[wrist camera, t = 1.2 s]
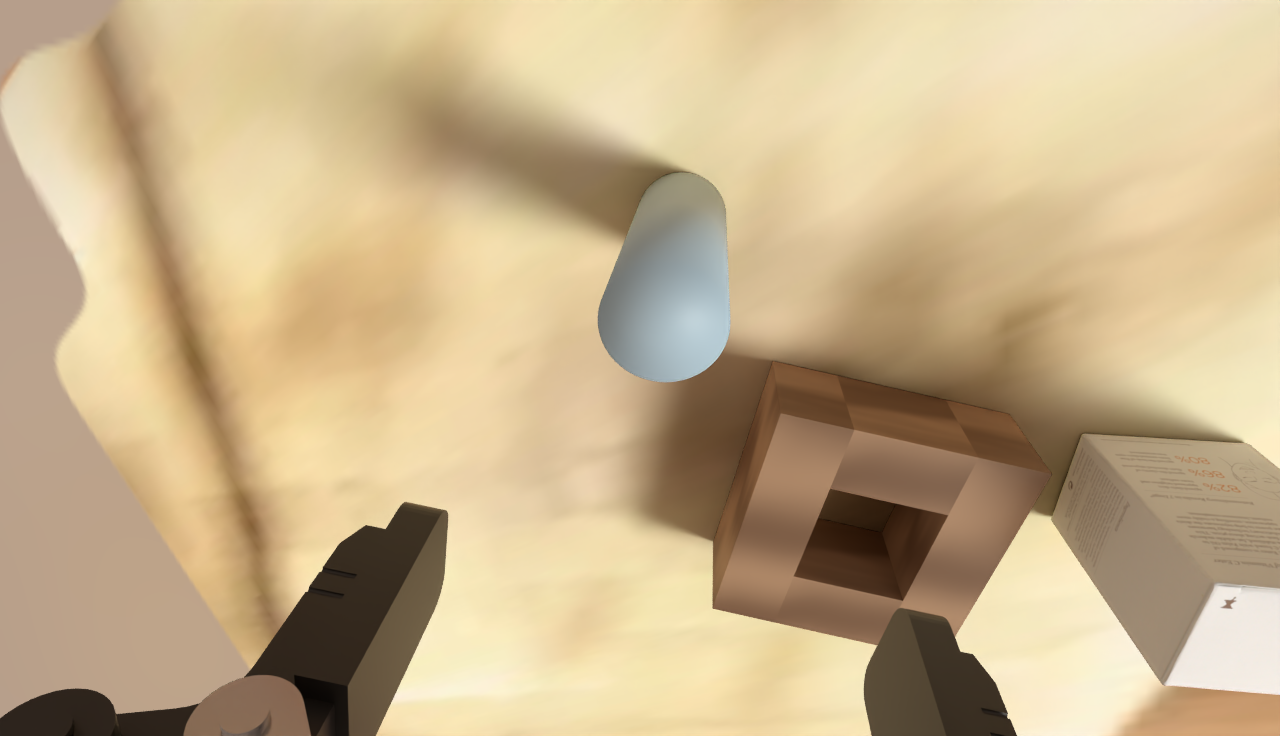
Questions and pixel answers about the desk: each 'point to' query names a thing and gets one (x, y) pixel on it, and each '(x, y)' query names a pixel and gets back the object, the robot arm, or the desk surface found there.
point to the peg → (670, 283)
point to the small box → (1182, 553)
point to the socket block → (876, 468)
